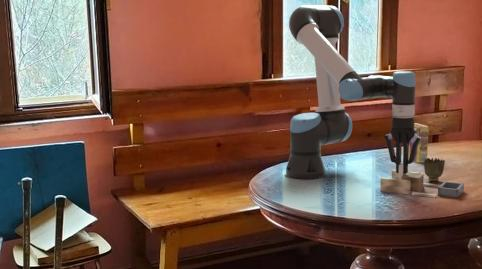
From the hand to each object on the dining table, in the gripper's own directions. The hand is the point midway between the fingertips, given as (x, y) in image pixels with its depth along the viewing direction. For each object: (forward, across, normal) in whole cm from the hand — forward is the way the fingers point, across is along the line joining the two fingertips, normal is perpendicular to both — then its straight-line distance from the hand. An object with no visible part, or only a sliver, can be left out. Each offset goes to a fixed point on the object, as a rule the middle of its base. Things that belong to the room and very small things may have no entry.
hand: (401, 182), depth 221 cm
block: (+2, +4, 0) cm, 4 cm away
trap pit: (+2, +17, +1) cm, 17 cm away
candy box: (+2, -6, +44) cm, 45 cm away
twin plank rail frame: (+2, +4, 0) cm, 5 cm away
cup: (+2, +8, +14) cm, 16 cm away
